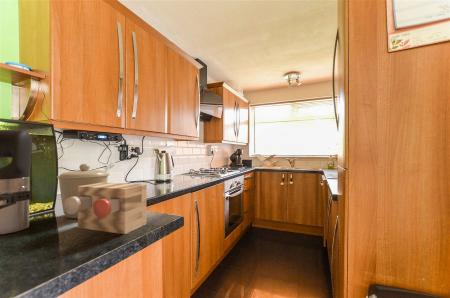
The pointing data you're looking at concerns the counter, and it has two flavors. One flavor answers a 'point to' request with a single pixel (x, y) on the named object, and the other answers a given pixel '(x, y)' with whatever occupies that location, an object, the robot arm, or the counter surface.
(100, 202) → the red plug
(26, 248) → the counter surface
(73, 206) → the beige plug
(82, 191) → the block
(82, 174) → the canister
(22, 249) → the counter surface
